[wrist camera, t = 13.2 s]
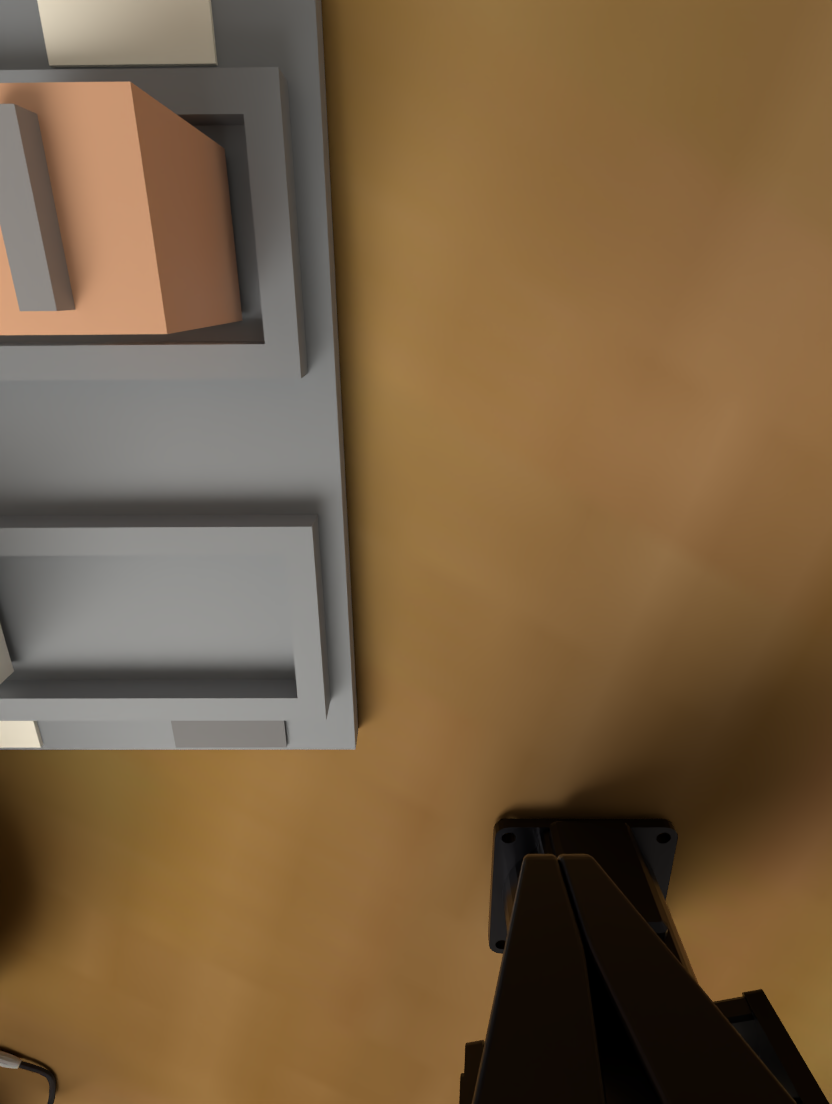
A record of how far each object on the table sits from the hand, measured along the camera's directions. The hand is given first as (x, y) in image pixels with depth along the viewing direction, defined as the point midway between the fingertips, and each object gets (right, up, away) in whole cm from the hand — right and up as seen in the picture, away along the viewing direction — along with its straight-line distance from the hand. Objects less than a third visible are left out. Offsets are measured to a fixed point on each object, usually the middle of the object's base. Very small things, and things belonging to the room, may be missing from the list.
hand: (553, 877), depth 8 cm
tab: (-8, +11, +7) cm, 15 cm away
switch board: (-12, +7, +10) cm, 17 cm away
